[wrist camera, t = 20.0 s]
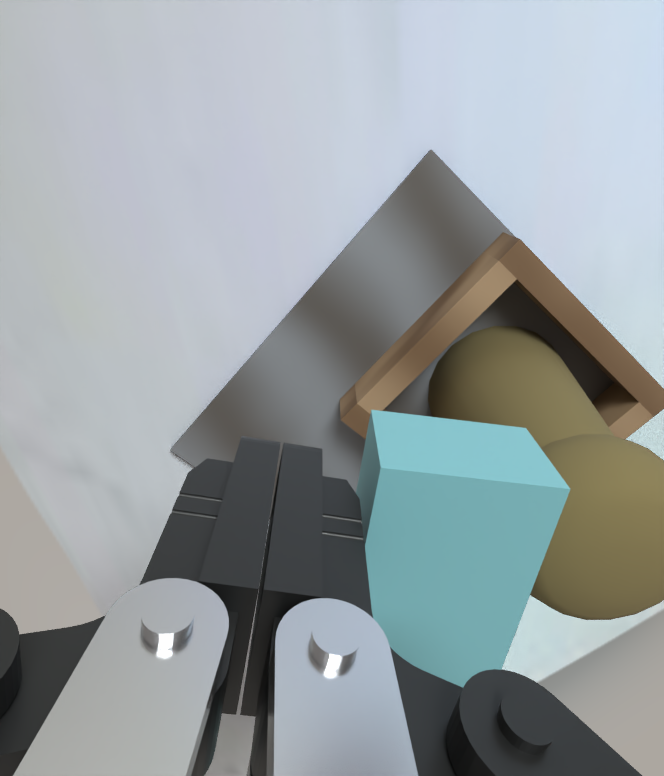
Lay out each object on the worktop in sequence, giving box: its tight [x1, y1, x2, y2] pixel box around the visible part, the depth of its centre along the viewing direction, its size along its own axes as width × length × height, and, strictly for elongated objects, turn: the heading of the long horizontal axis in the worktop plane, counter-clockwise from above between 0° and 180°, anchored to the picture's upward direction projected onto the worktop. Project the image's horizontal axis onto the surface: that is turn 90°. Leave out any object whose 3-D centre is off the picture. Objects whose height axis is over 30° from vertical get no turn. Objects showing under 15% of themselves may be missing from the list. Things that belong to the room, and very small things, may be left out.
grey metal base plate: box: [170, 150, 664, 518], centre depth 23 cm, size 17×14×2 cm
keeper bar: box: [356, 410, 570, 687], centre depth 12 cm, size 14×4×2 cm, turn 172°
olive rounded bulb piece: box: [428, 326, 664, 620], centre depth 18 cm, size 6×6×11 cm
